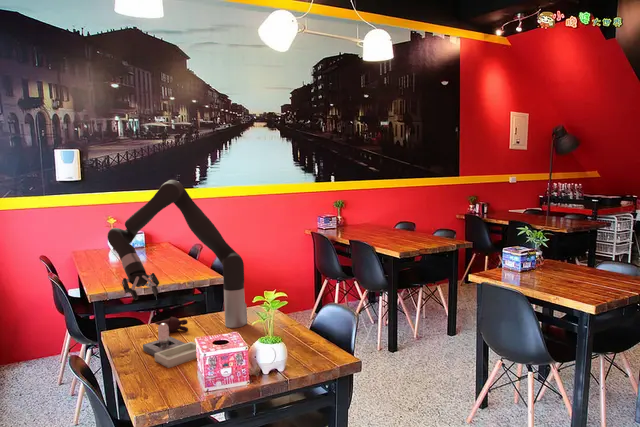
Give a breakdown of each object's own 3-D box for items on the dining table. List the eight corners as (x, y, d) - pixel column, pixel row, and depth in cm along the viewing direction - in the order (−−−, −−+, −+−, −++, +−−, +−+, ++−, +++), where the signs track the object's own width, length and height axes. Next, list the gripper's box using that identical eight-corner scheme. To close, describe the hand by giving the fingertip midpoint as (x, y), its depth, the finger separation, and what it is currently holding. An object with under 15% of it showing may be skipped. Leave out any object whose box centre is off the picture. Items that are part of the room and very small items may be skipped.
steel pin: (166, 347, 193) (165, 321, 192) (171, 349, 190) (170, 323, 189) (157, 350, 190) (155, 323, 189) (162, 352, 187) (160, 325, 186)
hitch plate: (170, 342, 199) (170, 336, 198) (185, 349, 190) (185, 343, 190) (143, 350, 190) (142, 344, 190) (157, 358, 182) (157, 352, 182)
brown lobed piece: (151, 320, 208) (184, 323, 207) (158, 311, 215) (190, 314, 214) (152, 334, 210) (185, 337, 209) (159, 324, 217) (191, 327, 216)
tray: (192, 348, 191) (191, 341, 191) (206, 354, 184) (205, 347, 184) (154, 361, 179) (154, 353, 179) (168, 368, 172) (167, 360, 172)
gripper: (118, 263, 197) (132, 295, 190) (151, 258, 207) (165, 288, 200) (114, 274, 201) (127, 305, 194) (146, 268, 211) (160, 298, 204)
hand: (147, 297), depth 197 cm, fingers open, 8 cm apart
